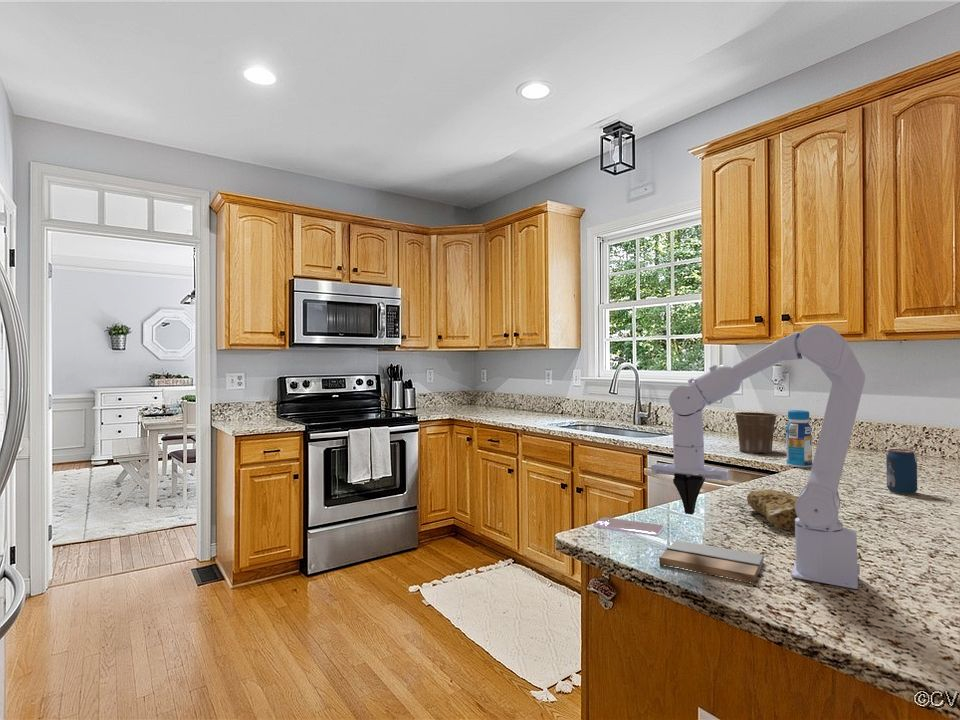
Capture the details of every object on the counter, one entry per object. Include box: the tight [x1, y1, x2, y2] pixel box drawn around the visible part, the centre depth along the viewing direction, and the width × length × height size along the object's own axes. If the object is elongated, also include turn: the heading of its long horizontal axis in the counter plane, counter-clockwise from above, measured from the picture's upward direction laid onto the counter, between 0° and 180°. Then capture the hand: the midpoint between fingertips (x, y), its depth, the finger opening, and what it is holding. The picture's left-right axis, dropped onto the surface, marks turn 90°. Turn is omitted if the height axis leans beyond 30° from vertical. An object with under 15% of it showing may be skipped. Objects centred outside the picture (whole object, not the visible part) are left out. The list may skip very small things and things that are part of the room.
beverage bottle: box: [785, 409, 813, 469], centre depth 196 cm, size 8×8×20 cm
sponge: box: [746, 489, 799, 531], centre depth 129 cm, size 13×8×20 cm
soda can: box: [886, 448, 918, 496], centre depth 155 cm, size 7×7×12 cm
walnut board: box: [658, 547, 760, 584], centre depth 98 cm, size 16×6×2 cm, turn 56°
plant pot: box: [734, 411, 778, 454], centre depth 228 cm, size 16×16×16 cm
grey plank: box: [668, 539, 764, 572], centre depth 104 cm, size 16×6×2 cm, turn 56°
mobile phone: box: [593, 516, 665, 537], centre depth 125 cm, size 8×1×15 cm
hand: (689, 513), depth 108 cm, fingers closed
